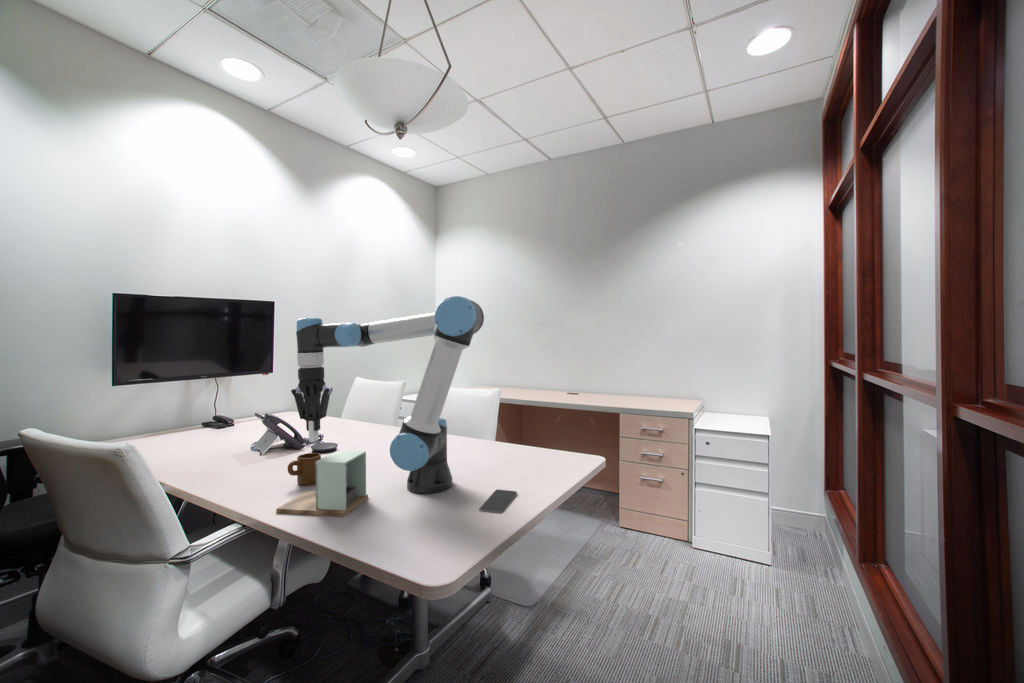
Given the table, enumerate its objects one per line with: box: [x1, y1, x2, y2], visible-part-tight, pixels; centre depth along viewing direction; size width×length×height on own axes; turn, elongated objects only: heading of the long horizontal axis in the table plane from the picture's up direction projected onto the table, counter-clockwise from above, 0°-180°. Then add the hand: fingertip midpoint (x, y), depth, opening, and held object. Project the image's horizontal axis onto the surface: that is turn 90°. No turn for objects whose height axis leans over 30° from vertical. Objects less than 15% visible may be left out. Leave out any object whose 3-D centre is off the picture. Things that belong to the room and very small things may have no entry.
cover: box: [315, 450, 367, 511], centre depth 125 cm, size 9×12×14 cm
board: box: [275, 487, 369, 518], centre depth 125 cm, size 21×14×5 cm, turn 81°
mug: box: [287, 452, 322, 487], centre depth 144 cm, size 12×8×9 cm, turn 155°
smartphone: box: [478, 489, 518, 515], centre depth 127 cm, size 7×1×16 cm
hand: (313, 440), depth 132 cm, fingers closed
